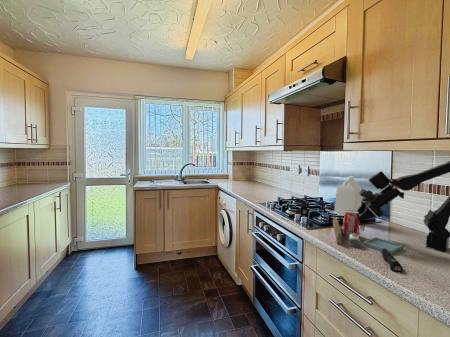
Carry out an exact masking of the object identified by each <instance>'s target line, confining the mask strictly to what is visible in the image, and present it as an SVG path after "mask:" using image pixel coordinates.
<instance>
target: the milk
mask: <svg viewBox="0 0 450 337" xmlns="http://www.w3.org/2000/svg"><path fill="white" fill-rule="evenodd" d="M362 189H363V187H361V186H360V185H359V184H358V183H357V182H356V181H355V176H353V175H350V176H346V180H345V181H344V182H342V184H340V185H339V186H338V187H337V188H336V195H335V196H336V197H335V202H334V204H335V205H334V211H333V212H334V213H333V215H334V214H337V215H342V216H344V213H345V212H346V210H353V211H357V210H358V209H359V207H360V206H361V201H362V202H363V200H362V199H363V197H362V196H361V195H360V194H359V193H360V192H361V190H362ZM360 215H361V214H360Z"/></svg>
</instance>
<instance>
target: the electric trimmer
mask: <svg viewBox="0 0 450 337" xmlns="http://www.w3.org/2000/svg"><path fill="white" fill-rule="evenodd" d="M381 255H382V258H383V261H385V262H387V263H388V265H389V268H390V271H391V270H392V271H391V272H393V271H394V272H393V273H398V272H400V273H401V274H403V272H404V269H403V267H402V265H401V263H400V262H399V261H398V260H397V259H396V258H395V257H394V256H393V254H390V253H389V252H388V250H387V249H385V248H384V249H383V250H382V252H381ZM400 273H399V274H400Z"/></svg>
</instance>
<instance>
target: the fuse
mask: <svg viewBox="0 0 450 337" xmlns="http://www.w3.org/2000/svg"><path fill="white" fill-rule="evenodd" d="M350 239H357V240H360V235H359V236H358V235H357V234H355V233H351V234H350ZM350 239H349V242H348V244H349V243H350Z"/></svg>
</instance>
